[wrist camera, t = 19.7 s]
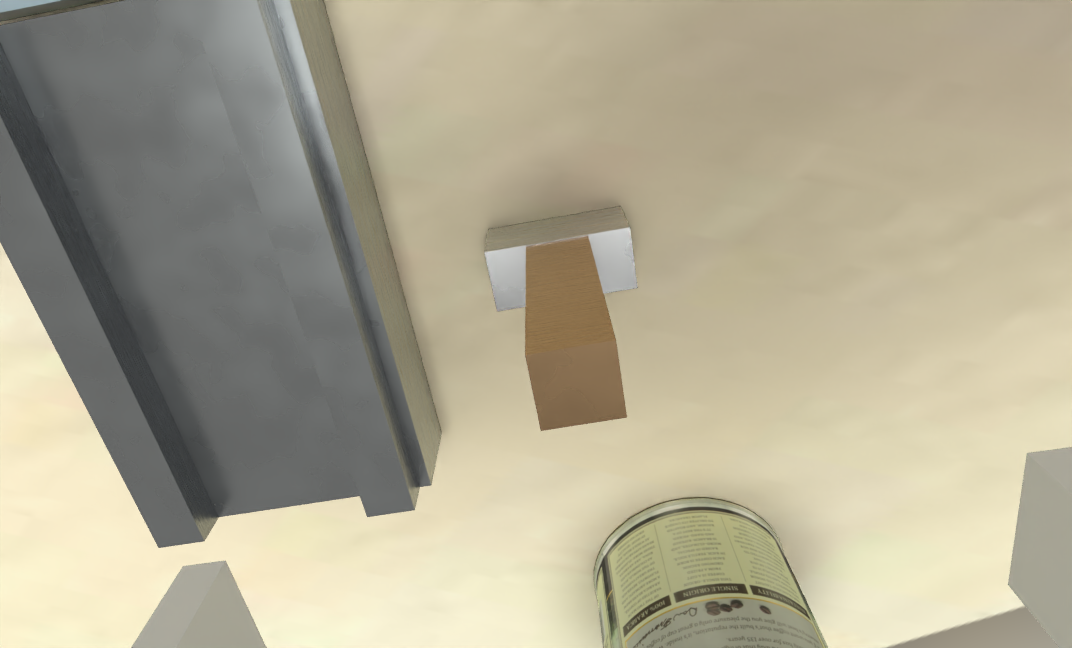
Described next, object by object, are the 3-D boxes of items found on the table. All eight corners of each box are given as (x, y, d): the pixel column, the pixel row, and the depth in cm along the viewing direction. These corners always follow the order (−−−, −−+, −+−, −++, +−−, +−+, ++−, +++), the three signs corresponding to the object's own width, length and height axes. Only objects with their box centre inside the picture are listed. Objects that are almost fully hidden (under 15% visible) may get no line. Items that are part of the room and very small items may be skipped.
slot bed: (316, -26, 25) (263, -34, 20) (441, 433, 33) (426, 508, 28) (4, 36, 26) (-120, 43, 21) (202, 469, 34) (147, 549, 29)
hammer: (620, 206, 29) (676, 328, 18) (627, 261, 30) (684, 410, 19) (488, 229, 29) (465, 362, 18) (499, 283, 30) (484, 441, 19)
